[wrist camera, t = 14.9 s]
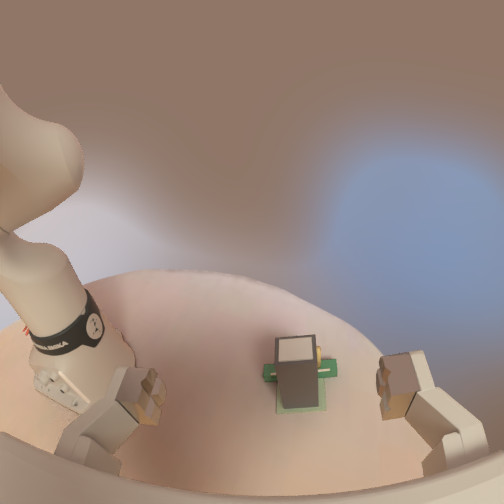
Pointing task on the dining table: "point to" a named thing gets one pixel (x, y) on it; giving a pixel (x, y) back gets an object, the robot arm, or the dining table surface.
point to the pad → (299, 410)
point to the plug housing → (297, 371)
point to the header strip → (324, 368)
